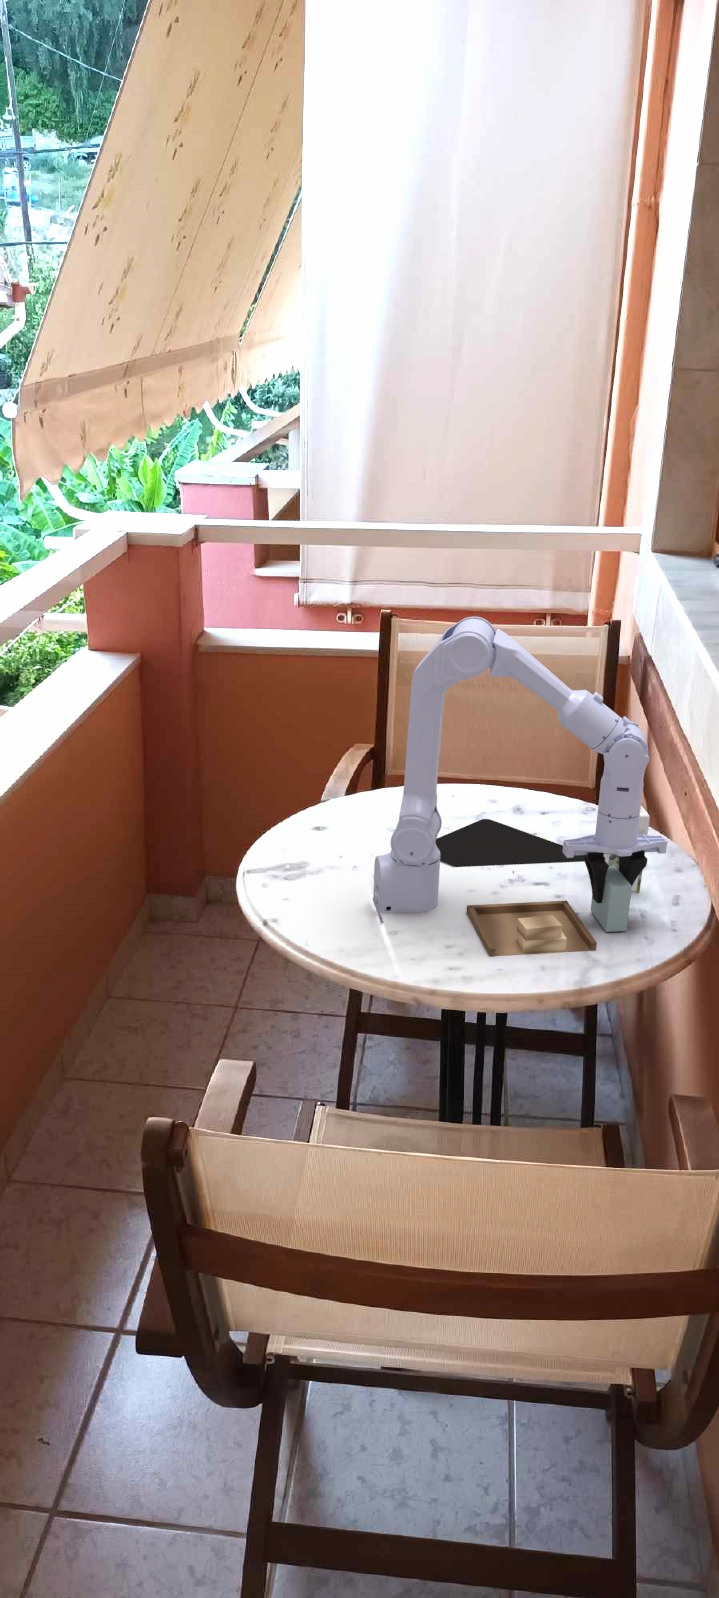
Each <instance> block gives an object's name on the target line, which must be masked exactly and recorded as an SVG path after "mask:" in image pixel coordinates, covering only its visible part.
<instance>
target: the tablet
mask: <svg viewBox="0 0 719 1598" xmlns="http://www.w3.org/2000/svg"><path fill="white" fill-rule="evenodd" d="M435 843H436V846H437V847H438V849H439V851H440V864H443V865H446V866H448V867H451V868H468V867H469V868H471V867H472V868H473V867H491V866H512V865H514V866H515V865H537V864H538V865H539V864H557V863H558V864H561V863H579V862H580V863H581V862H582V863H583V862H584V863H585V861H584V859H583V857H582V855H574V857H573V858H567V857H566V856H565V855H564V853H563V844H560V843H557V842H554V841H551V840H549V839H545V838H543V837H539V836H537V835H535V834H532V833H529V832H527V831H524V830H521V829H518V828H515V827H514V826H513V827H512V826H509V825H507V824H504V823H501V822H499V821H496V820H492V819H489V818H483V819H482V818H481V819H479V820H477V821H474V822H473V823H470V824H467V825H466V826H463V827H460V828H458V829H456V830H454V831H451V832H449V833H446V834H444V835H441V836H440V837H437V839H436V842H435Z"/></svg>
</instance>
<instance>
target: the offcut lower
mask: <svg viewBox="0 0 719 1598" xmlns="http://www.w3.org/2000/svg"><path fill="white" fill-rule="evenodd" d="M516 941H517V943H518V945H519V947H520V948H521V950H522V952H523V953H527V952H545V951H563V950H566V941H567V938H566V937H565V935H564V934H563V932H562V933H561V937H559V938H549V939H540V940H531V941H525V940H524V939H523V938H522V936H521V935H520V934H519V933H518V931H517V936H516Z"/></svg>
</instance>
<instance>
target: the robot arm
mask: <svg viewBox="0 0 719 1598" xmlns="http://www.w3.org/2000/svg"><path fill="white" fill-rule="evenodd" d="M488 669H490V672H489V675H488V677H490V678H501V677H502V678H503V677H505V678H506V677H507V678H508V677H511V678H513V679H514V680H515V681H517V683H520V684H521V685H522V686H523V687H525V688H527V689H528V690H529V691H531V692H532V693H534V694H535V695H536V696H537V697H539V698H540V699H542V700H543V701H544V702H546V703H547V704H549V705H550V706H551V707H553V708H554V709H556V711H557V719H558V723H559V724H560V725H561V726H562V727H563V728H565V729H566V730H567V731H569V732H570V733H571V734H572V735H574V736H575V737H576V738H578V740H580V741H581V742H583V743H584V744H585V745H586V746H588V747H589V748H590V749H591V750H593V751H594V752H595V753H599V754H601V755H603V761H604V764H603V765H604V767H603V768H604V769H603V773H602V776H601V779H600V786H599V787H600V789H599V796H598V797H599V799H598V805H597V814H596V816H597V817H596V824H595V826H596V827H595V832H594V833H595V834H590V835H586V836H581V837H577V838H570V839H563V843H562V845H563V853H564V855H565V856H566V857H567V858H573V857H574V855H582V857H583V859H584V861H585V862H584V864H585V867H586V869H587V873H588V876H589V881H590V885H591V887H590V888H591V893H592V895H591V899H592V898H593V899H594V900H595V902H596V903H602V899H603V891H604V882H605V877H606V874H607V870H608V868H609V865H608V864H607V863H606V861H605V857H604V854H617V855H618V856H619V871H620V872H621V873H622V875H623V876H624V877H625V878H626V880H627V881H628V882H629V883H630V884H631V886H632V885H633V883H634V882H635V880H636V878H637V877H638V875H639V874H640V873H641V871H642V872H643V870H644V869H645V868H646V867H647V864H648V858H647V857H646V856H644V855H645V854H646V853H655V852H656V853H658V854H660V855H661V854H667V847H668V840H667V839H666V838H665V837H664V836H663V835H650V834H649V835H648V834H647V835H639V834H638V826H639V817H640V810H641V806H642V800H643V792H644V791H643V790H644V781H643V780H644V779H643V778H644V776H645V769H646V768H647V766H648V764H649V762H650V758H651V757H650V756H649V747H648V742H647V737H646V735H645V733H644V731H643V730H642V729H641V728H640V727H639V724H638V723H636V722H634V721H630V719H629V718H628V717H627V716H626V715H624V716H623V717H621V716H620V715H618V714H617V713H616V712H615V711H614V710H612V709H611V708H610V707H608V706H607V705H606V704H605V703H603V702H604V697H603V696H602V695H601V694H600V693H599V692H597V691H595V692H594V693H593V694H592V693H591V692H590V691H589V690H586V689H578V690H575V689H574V690H572V689H571V688H570V687H569V686H567V684H565V683H564V682H563V681H562V680H561V679H559V678H558V677H557V676H556V675H555V674H554V673H553V672H551V671H550V670H549V669H548V668H547V667H546V666H545V665H544V664H542V663H541V662H540V661H539V660H538V659H536V658H535V657H534V656H533V655H532V654H531V653H529V651H528V650H526V649H525V648H524V647H523V646H522V645H521V644H519V643H518V641H516V640H515V639H513V638H512V637H511V636H510V635H509V634H507V632H504V631H503V630H501V629H500V628H497V629H495V627H494V626H493V624H492V623H491V622H489V621H488V620H487V619H485V618H483V617H480V616H468V617H464V618H462V619H461V620H459V621H458V622H456V623H454V624H453V625H452V626H449V627H448V628H447V629H445V631H444V633H443V634H442V635H441V637H440V638H439V639H438V640H437V642H436V643H435V644H434V645H433V646H432V648H431V649H430V650H429V651H428V652H427V653H426V654H425V656H424V657H423V658H422V660H421V661H420V662H419V663H418V665H417V666H416V667H415V669H414V671H413V674H412V678H411V686H410V687H411V689H410V698H409V699H410V701H409V714H408V725H407V727H408V728H407V738H406V739H407V742H406V752H405V754H406V755H405V767H404V769H405V770H404V781H403V782H404V783H403V791H402V792H403V796H402V800H401V804H400V811H399V815H398V817H399V818H398V822H397V824H396V827H395V829H394V831H393V832H392V835H391V838H390V848H391V849H390V852H389V853H386V854H381V855H377V856H375V859H374V867H373V868H374V869H373V870H374V871H373V897H372V902H373V905H374V907H375V911H376V913H377V917H378V919H379V922H380V923H382V924H384V919H383V917H382V914H381V913H399V912H400V913H411V914H412V913H413V914H414V913H425V912H426V913H427V912H430V911H432V910H435V908H436V907H437V906H438V904H439V891H440V890H439V887H440V885H439V884H440V871H441V870H440V866H441V862H440V851H439V849H438V847H437V846H436V843H435V842H436V839H437V838H438V834H439V833H440V831H441V828H442V823H443V822H442V817H441V815H440V812H439V810H438V794H437V793H438V792H437V789H438V776H439V767H440V766H439V765H440V755H441V754H440V753H441V742H442V730H443V722H444V721H443V718H444V708H445V699H446V696H445V695H446V691H447V690H449V689H450V688H451V687H453V686H455V685H456V684H457V683H459V682H461V681H464V680H468V679H471V678H476V677H478V676H480V675H482V674H484V673H485V672H486V671H487V670H488ZM388 907H389V908H388ZM387 908H388V909H387Z"/></svg>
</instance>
